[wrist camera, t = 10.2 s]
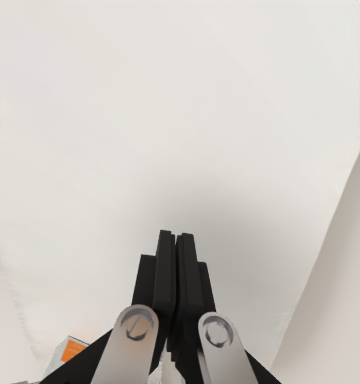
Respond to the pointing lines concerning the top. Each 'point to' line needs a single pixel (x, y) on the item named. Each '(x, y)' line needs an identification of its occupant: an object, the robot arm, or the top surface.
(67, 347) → the skincare box
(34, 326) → the top surface
